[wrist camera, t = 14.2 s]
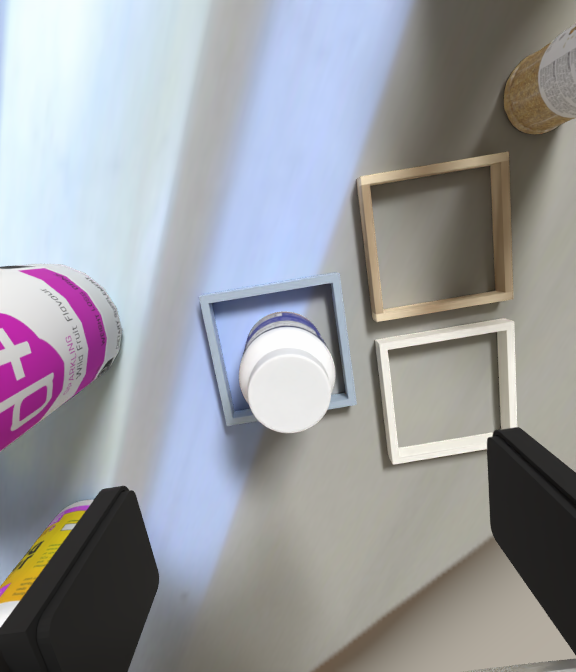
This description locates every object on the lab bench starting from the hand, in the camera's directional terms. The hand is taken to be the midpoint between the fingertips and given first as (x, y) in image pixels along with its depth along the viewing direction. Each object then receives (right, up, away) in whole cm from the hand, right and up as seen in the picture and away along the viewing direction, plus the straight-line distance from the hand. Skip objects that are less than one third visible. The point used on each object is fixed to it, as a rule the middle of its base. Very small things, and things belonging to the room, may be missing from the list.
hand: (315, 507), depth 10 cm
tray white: (+10, +1, +18) cm, 21 cm away
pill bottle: (-1, +4, +17) cm, 17 cm away
